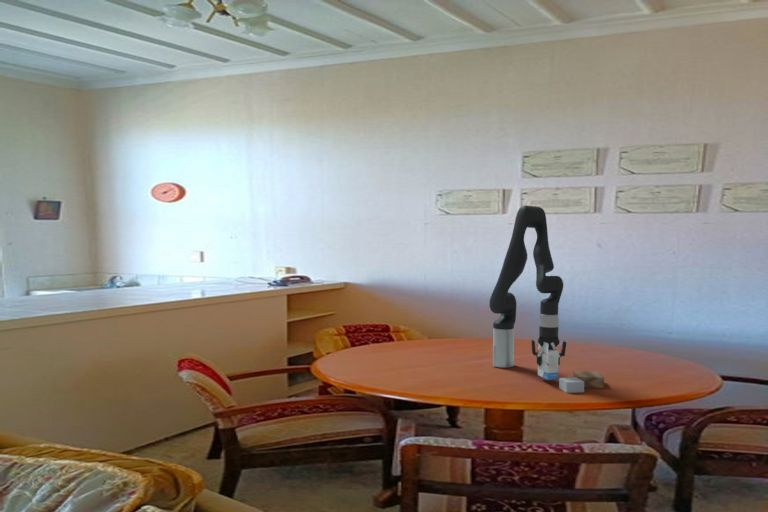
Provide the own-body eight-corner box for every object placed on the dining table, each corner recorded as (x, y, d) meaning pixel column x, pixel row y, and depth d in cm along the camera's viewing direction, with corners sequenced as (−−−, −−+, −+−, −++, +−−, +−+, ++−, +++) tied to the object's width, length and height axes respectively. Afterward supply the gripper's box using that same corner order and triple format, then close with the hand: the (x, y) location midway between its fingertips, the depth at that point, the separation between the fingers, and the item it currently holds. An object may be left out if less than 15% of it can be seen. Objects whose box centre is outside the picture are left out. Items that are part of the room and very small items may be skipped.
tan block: (577, 387, 239) (577, 376, 239) (573, 380, 249) (573, 371, 249) (603, 387, 237) (604, 377, 237) (598, 381, 247) (598, 371, 247)
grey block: (566, 392, 230) (566, 382, 230) (559, 388, 237) (559, 377, 237) (584, 392, 231) (584, 381, 231) (576, 387, 238) (576, 377, 238)
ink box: (558, 379, 244) (559, 343, 243) (547, 380, 243) (548, 343, 242) (548, 374, 252) (548, 339, 251) (537, 375, 251) (537, 339, 250)
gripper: (531, 326, 244) (530, 367, 245) (568, 327, 241) (567, 368, 242) (529, 322, 251) (529, 363, 252) (566, 324, 249) (565, 364, 250)
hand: (548, 365), depth 247 cm, fingers closed on ink box, 6 cm apart
